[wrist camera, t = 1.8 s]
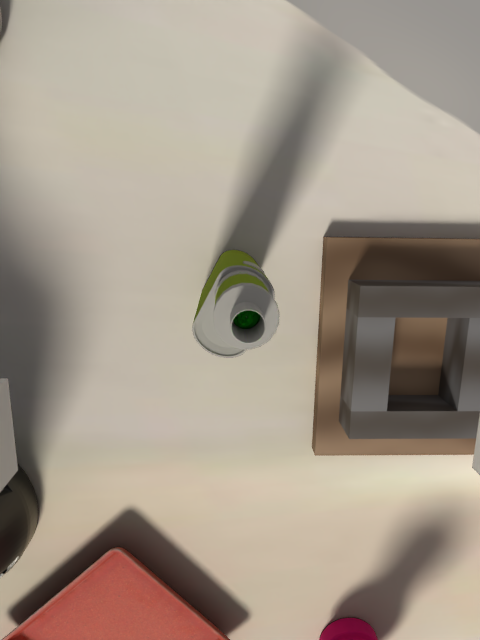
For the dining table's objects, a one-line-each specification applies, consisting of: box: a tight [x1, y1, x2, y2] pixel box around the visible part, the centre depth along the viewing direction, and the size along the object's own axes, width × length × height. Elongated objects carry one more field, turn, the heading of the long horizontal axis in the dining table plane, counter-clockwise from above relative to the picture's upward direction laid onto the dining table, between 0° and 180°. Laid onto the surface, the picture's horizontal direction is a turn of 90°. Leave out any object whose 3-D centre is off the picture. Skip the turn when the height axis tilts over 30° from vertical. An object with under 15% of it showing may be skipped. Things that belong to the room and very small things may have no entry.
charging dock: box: [312, 237, 480, 455], centre depth 39 cm, size 20×16×5 cm
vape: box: [192, 250, 279, 358], centre depth 30 cm, size 4×6×20 cm, turn 152°
